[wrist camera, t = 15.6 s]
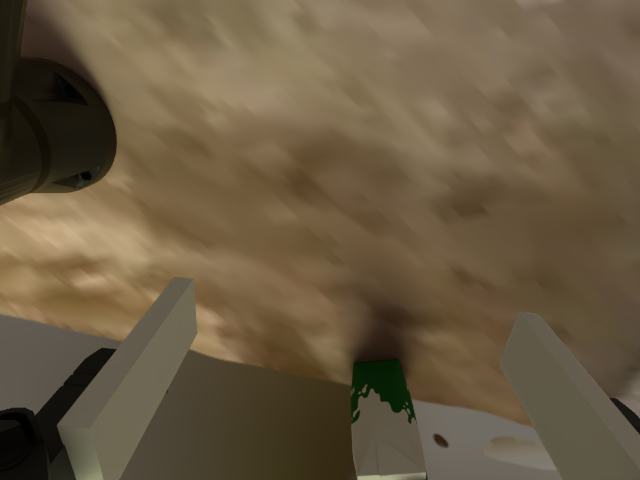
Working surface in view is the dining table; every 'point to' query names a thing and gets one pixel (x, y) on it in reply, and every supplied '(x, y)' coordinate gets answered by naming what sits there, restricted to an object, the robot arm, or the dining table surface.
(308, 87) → the dining table surface
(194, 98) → the dining table surface
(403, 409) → the milk carton
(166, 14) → the dining table surface
